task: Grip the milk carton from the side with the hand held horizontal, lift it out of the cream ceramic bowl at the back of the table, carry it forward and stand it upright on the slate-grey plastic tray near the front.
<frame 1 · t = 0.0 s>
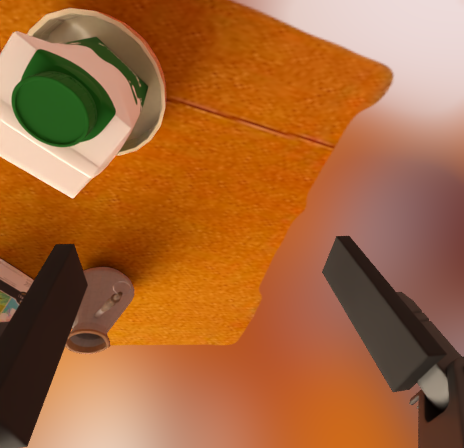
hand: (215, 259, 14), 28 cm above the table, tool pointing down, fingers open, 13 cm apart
coffee pot: (114, 263, 49), on the table
milk carton: (106, 86, 32), resting on bowl
bowl: (107, 86, 32), on the table
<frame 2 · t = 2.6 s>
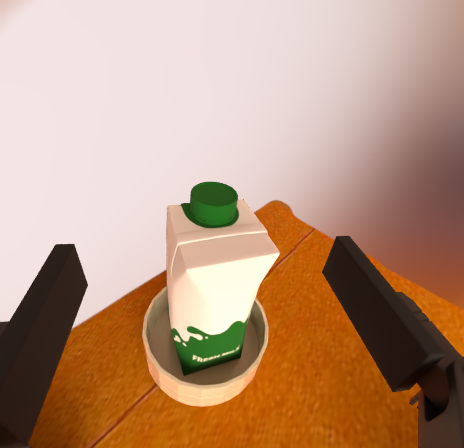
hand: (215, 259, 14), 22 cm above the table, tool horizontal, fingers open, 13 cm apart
milk carton: (204, 340, 33), resting on bowl
bowl: (204, 340, 33), on the table
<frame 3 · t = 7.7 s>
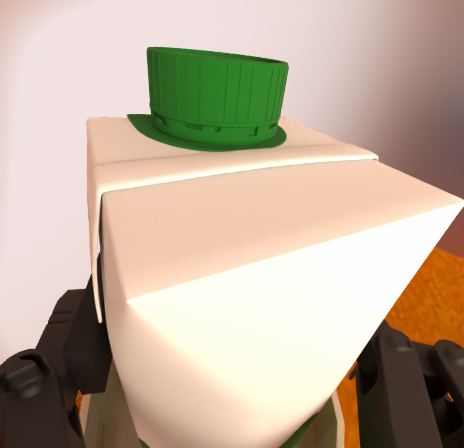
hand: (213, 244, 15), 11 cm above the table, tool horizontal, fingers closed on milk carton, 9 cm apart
milk carton: (212, 416, 17), resting on bowl, touching gripper
bowl: (212, 418, 18), on the table
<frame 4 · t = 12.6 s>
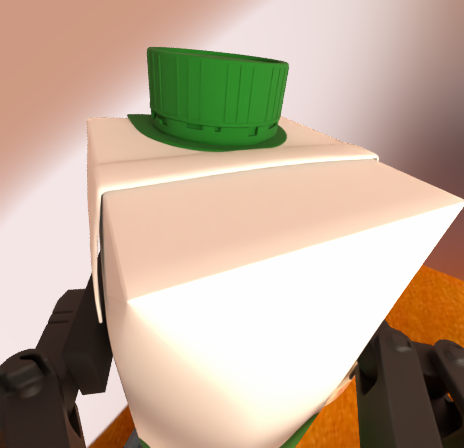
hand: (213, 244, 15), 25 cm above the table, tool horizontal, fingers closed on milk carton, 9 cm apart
milk carton: (212, 416, 17), point 14 cm above the table, touching gripper
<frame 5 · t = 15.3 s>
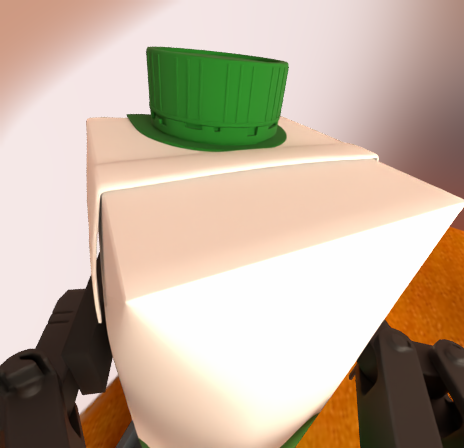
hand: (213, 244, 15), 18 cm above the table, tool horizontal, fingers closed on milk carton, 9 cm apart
tray: (207, 447, 21), on the table
milk carton: (212, 416, 17), point 7 cm above the table, touching gripper
when the fingers open (11 cm above the table, at t = 17.5 s): milk carton stays where it is, resting on tray.
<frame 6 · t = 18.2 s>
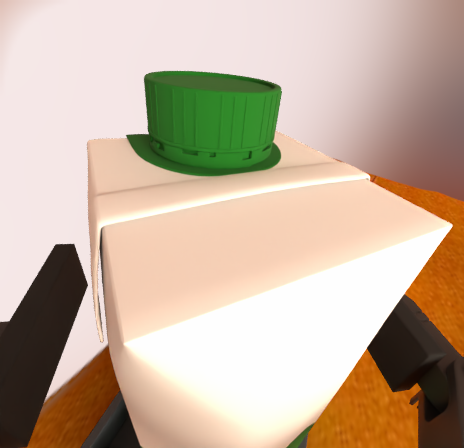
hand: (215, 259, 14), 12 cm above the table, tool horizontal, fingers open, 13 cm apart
tray: (211, 422, 18), on the table
milk carton: (213, 421, 18), resting on tray
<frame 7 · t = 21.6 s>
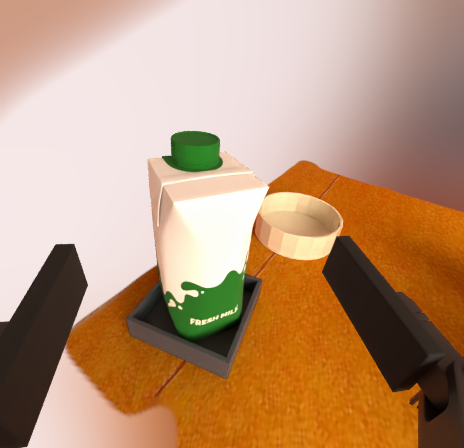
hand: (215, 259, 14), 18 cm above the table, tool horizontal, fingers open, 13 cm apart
tray: (200, 313, 32), on the table
milk carton: (201, 312, 31), resting on tray
bowl: (293, 233, 47), on the table
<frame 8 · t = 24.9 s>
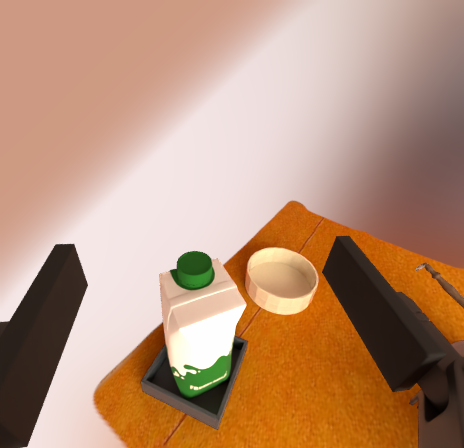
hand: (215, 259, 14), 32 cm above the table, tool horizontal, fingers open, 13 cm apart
tray: (198, 369, 40), on the table
coffee pot: (443, 361, 45), on the table
milk carton: (199, 369, 40), resting on tray
bowl: (278, 285, 55), on the table
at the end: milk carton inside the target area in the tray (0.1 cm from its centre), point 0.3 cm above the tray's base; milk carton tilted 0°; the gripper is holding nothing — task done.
